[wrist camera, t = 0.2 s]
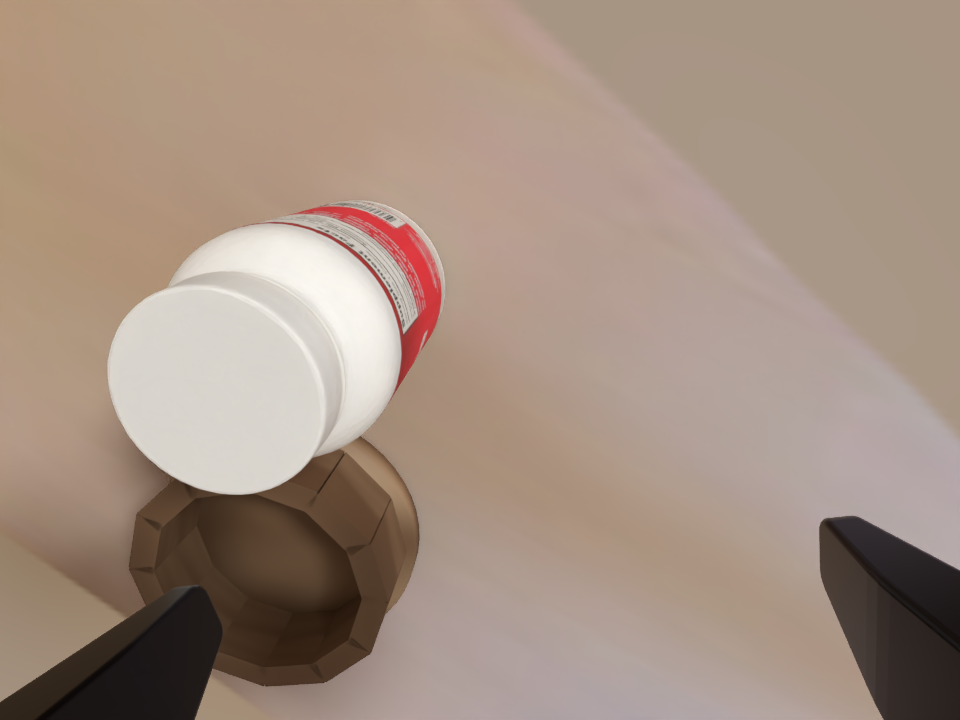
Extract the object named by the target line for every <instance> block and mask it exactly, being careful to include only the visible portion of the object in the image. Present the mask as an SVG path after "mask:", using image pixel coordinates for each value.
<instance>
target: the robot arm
mask: <svg viewBox="0 0 960 720" xmlns="http://www.w3.org/2000/svg"><path fill="white" fill-rule="evenodd" d="M819 541H820V572H821V578H822V582H823V585H824V588H825V590H826V592H827V595H828V597H829V599H830V602H831V604H832V606H833V609H834V611H835V613H836V616H837V618H838V620H839V622H840V625H841V627H842V629H843V632H844V634H845V636H846V639H847V641H848V643H849V646H850V648H851V650H852V653H853V655H854V657H855V659H856V662H857V664H858V666H859V669H860V671H861V673H862V676H863V678H864V680H865V683H866V685H867V687H868V689H869V691H870V694H871V696H872V698H873V700H874V702H875V704H876V706H877V708H878V710H879V712H880V714H881V716H882V718H883V719H884V720H960V570H958V569H956V568H954V567H953V566H951V565H949V564H947V563H945V562H943V561H941V560H939V559H937V558H936V557H934V556H932V555H930V554H928V553H926V552H924V551H922V550H920V549H918V548H917V547H915V546H913V545H911V544H909V543H907V542H905V541H903V540H901V539H899V538H898V537H896V536H894V535H892V534H890V533H888V532H886V531H884V530H882V529H880V528H879V527H877V526H875V525H873V524H871V523H869V522H867V521H865V520H863V519H861V518H859V517H857V516H844V517H834V518H826V519H824V520H823V521H822V522H821V524H820V527H819ZM222 638H223V626H222V622H221V620H220V618H219V616H218V614H217V611H216V609H215V607H214V605H213V603H212V601H211V599H210V596H209V594H208V592H207V591H206V589H205V588H204V587H203V586H201V585H188V586H179V587H175V588H173V589H171V590H170V591H168V592H167V593H165V594H163V595H162V596H160V597H159V598H157V599H156V600H154V601H153V602H151V603H150V604H148V605H147V606H145V607H144V608H142V609H141V610H139V611H138V612H136V613H135V614H133V615H132V616H130V617H129V618H127V619H126V620H124V621H123V622H121V623H120V624H118V625H117V626H115V627H113V628H112V629H111V630H109V631H107V632H106V633H104V634H103V635H101V636H100V637H98V638H97V639H95V640H94V641H92V642H91V643H89V644H88V645H86V646H85V647H83V648H82V649H80V650H79V651H77V652H76V653H74V654H73V655H71V656H70V657H68V658H66V659H65V660H63V661H62V662H60V663H59V664H57V665H56V666H54V667H53V668H51V669H50V670H48V671H47V672H45V673H44V674H42V675H41V676H39V677H38V678H36V679H35V680H33V681H32V682H30V683H29V684H27V685H26V686H24V687H23V688H21V689H20V690H18V691H16V692H15V693H14V694H12V695H11V696H9V697H7V698H6V699H4V700H3V701H1V702H0V720H195V717H196V714H197V711H198V709H199V706H200V703H201V700H202V697H203V694H204V691H205V688H206V685H207V683H208V679H209V677H210V674H211V671H212V668H213V665H214V662H215V660H216V657H217V654H218V651H219V648H220V645H221V642H222Z"/></svg>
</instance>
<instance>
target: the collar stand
mask: <svg viewBox="0 0 960 720" xmlns="http://www.w3.org/2000/svg"><path fill="white" fill-rule="evenodd" d="M418 546H419V523H418V518H417V513H416V509H415V506H414V503H413V500H412V497H411V495H410V493H409V491H408V489H407V487H406V485H405V483H404V481H403V480H402V478H401V477H400V475H399V474H398V472H397V471H396V469H395V468H394V467H393V466H392V464H391V463H390V462H389V461H388V460H387V459H386V458H385V456H384V455H383V454H381V453H380V452H379V451H378V450H377V449H376V448H375V447H374V446H373V445H372V444H370V443H369V442H367V441H366V440H365V439H363V438H362V437H360V436H359V437H358V438H357V439H355V440H354V441H353V442H351V443H349V444H348V445H346V446H344V447H342V448H340V449H338V450H335V451H333V452H331V453H327V454H324V455H321V456H317V457H312V459H311V460H310V461H309V463H308V464H307V465H306V466H305V467H304V468H303V469H302V470H301V471H300V472H299V473H298V474H296V475H295V476H294V477H292V478H291V479H289V480H288V481H286V482H284V483H282V484H281V485H279V486H276V487H274V488H272V489H269V490H265V491H262V492H258V493H253V494H243V495H230V494H219V493H214V492H210V491H206V490H201V489H198V488H195V487H193V486H191V485H188V484H186V483H184V482H181V481H179V480H178V479H176V478H174V477H172V479H171V482H170V484H169V485H168V486H167V487H166V488H165V489H164V490H163V491H161V492H160V493H159V494H158V495H157V496H156V497H155V498H154V499H153V500H151V501H150V502H149V503H148V504H147V505H146V506H145V507H144V508H143V509H141V510H140V511H139V512H138V514H137V515H136V522H135V529H134V536H133V543H132V550H131V557H130V563H129V567H130V569H129V570H130V572H131V574H132V576H133V578H134V580H135V583H136V585H137V587H138V589H139V591H140V593H141V596H142V598H143V600H144V602H145V604H146V606H147V605H148V604H150V603H151V602H153V601H154V600H156V599H157V598H159V597H160V596H162V595H163V594H165V593H167V592H168V591H170V590H171V589H173V588H175V587H179V586H188V585H201V586H203V587H204V588H205V589H206V591H207V592H208V594H209V596H210V599H211V601H212V603H213V605H214V607H215V609H216V611H217V614H218V616H219V618H220V620H221V622H222V626H223V638H222V642H221V645H220V648H219V651H218V654H217V657H216V660H215V662H214V665H213V669H216V670H219V671H222V672H225V673H227V674H230V675H233V676H236V677H239V678H242V679H245V680H247V681H250V682H253V683H256V684H259V685H262V686H264V685H265V686H282V685H298V684H314V683H324V682H327V681H329V680H330V679H332V678H333V677H335V676H336V675H338V674H340V673H341V672H343V671H344V670H346V669H347V668H349V667H350V666H352V665H354V664H355V663H357V662H358V661H360V660H361V659H363V658H364V657H366V656H367V655H369V654H370V653H371V652H372V649H373V646H374V643H375V640H376V638H377V635H378V632H379V629H380V626H381V624H382V621H383V618H384V615H385V614H386V613H387V612H388V611H389V610H390V609H391V608H392V607H393V606H394V605H395V604H396V603H397V601H398V600H399V598H400V597H401V595H402V594H403V592H404V590H405V588H406V586H407V584H408V582H409V579H410V576H411V573H412V570H413V567H414V564H415V560H416V557H417V553H418Z"/></svg>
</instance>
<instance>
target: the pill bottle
mask: <svg viewBox="0 0 960 720" xmlns="http://www.w3.org/2000/svg"><path fill="white" fill-rule="evenodd" d="M444 299H445V279H444V272H443V268H442V264H441V261H440V258H439V256H438V254H437V251H436V249H435V247H434V246H433V244H432V242H431V241H430V239H429V238H428V236H427V235H426V234H425V233H424V232H423V230H422V229H421V228H420V227H419V226H418V225H417V224H416V223H415V222H413V221H412V220H411V219H410V218H408V217H407V216H406V215H404V214H403V213H401V212H399V211H397V210H396V209H394V208H391V207H389V206H386V205H384V204H380V203H376V202H371V201H363V200H350V201H340V202H335V203H330V204H327V205H324V206H321V207H317V208H313V209H310V210H306V211H302V212H299V213H295V214H291V215H287V216H284V217H279V218H275V219H272V220H268V221H263V222H260V223H256V224H252V225H247V226H243V227H239V228H236V229H233V230H231V231H228V232H226V233H224V234H222V235H220V236H218V237H216V238H214V239H212V240H210V241H208V242H207V243H205V244H204V245H202V246H201V247H199V248H198V249H197V250H196V251H194V252H193V253H192V254H191V255H190V256H189V257H188V258H187V259H186V260H185V261H184V262H183V263H182V264H181V266H180V267H179V268H178V270H177V271H176V272H175V274H174V275H173V277H172V279H171V281H170V283H169V285H168V287H167V288H166V289H163V290H161V291H159V292H156V293H154V294H152V295H150V296H149V297H147V298H145V299H144V300H143V301H141V302H140V303H139V304H138V305H136V306H135V307H134V308H133V309H132V310H131V311H130V312H129V313H128V315H127V316H126V317H125V318H124V320H123V321H122V323H121V324H120V326H119V328H118V330H117V332H116V334H115V337H114V339H113V341H112V344H111V348H110V353H109V358H108V384H109V391H110V395H111V399H112V403H113V405H114V408H115V411H116V413H117V416H118V418H119V420H120V422H121V424H122V426H123V427H124V429H125V431H126V433H127V434H128V436H129V437H130V438H131V440H132V441H133V442H134V444H135V445H136V446H137V447H138V449H139V450H140V451H141V452H142V453H143V454H144V455H145V456H146V457H147V458H148V459H149V460H151V461H152V462H153V463H154V464H155V465H157V466H158V467H159V468H160V469H162V470H163V471H165V472H166V473H168V474H169V475H171V476H172V477H174V478H176V479H178V480H179V481H181V482H184V483H186V484H188V485H191V486H193V487H195V488H198V489H201V490H206V491H210V492H214V493H219V494H230V495H243V494H253V493H258V492H262V491H265V490H269V489H272V488H274V487H276V486H279V485H281V484H282V483H284V482H286V481H288V480H289V479H291V478H292V477H294V476H295V475H296V474H298V473H299V472H300V471H301V470H302V469H303V468H304V467H305V466H306V465H307V464H308V463H309V461H310V460H311V459H312V457H317V456H321V455H324V454H327V453H331V452H333V451H335V450H338V449H340V448H342V447H344V446H346V445H348V444H349V443H351V442H353V441H354V440H355V439H357V438H358V437H359V436H361V435H362V434H363V433H364V432H365V431H366V430H368V429H369V428H370V427H371V425H372V424H373V423H374V422H375V421H376V420H377V419H378V417H379V416H380V415H381V413H382V412H383V411H384V409H385V408H386V406H387V405H388V403H389V402H390V400H391V398H392V397H393V395H394V393H395V392H396V390H397V388H398V387H399V385H400V384H401V382H402V380H403V379H404V377H405V376H406V374H407V372H408V371H409V369H410V368H411V366H412V364H413V363H414V361H415V360H416V358H417V356H418V355H419V353H420V351H421V350H422V348H423V347H424V345H425V344H426V342H427V340H428V339H429V337H430V336H431V334H432V332H433V331H434V329H435V327H436V325H437V323H438V320H439V318H440V315H441V313H442V309H443V305H444Z"/></svg>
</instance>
